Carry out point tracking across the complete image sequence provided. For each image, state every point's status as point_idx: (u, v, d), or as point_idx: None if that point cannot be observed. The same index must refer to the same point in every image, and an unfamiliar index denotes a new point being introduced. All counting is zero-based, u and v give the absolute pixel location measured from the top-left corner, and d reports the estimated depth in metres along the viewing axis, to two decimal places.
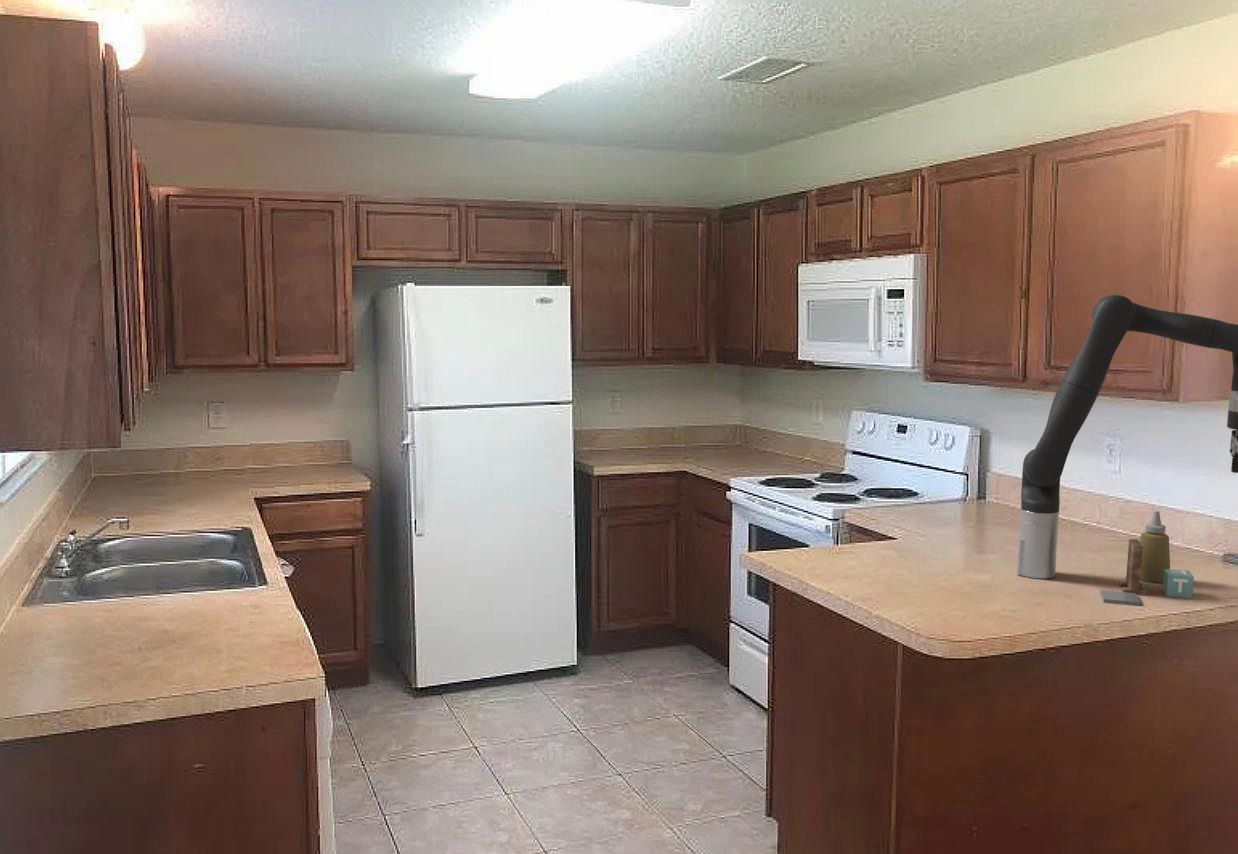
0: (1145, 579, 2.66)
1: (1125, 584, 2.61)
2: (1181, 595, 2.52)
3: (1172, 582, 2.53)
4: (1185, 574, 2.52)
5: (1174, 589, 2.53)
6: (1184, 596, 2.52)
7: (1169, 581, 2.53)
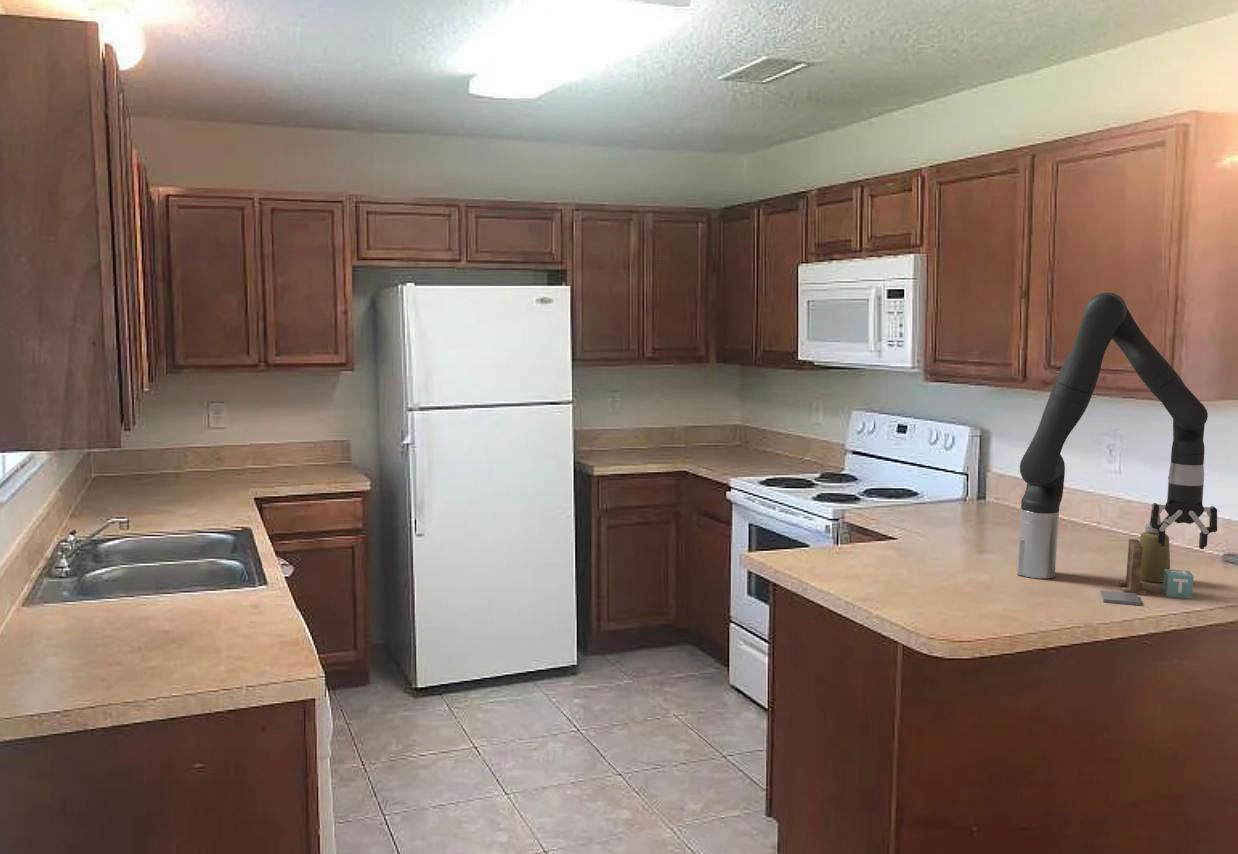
0: (1145, 579, 2.66)
1: (1125, 584, 2.61)
2: (1181, 595, 2.52)
3: (1172, 582, 2.53)
4: (1185, 574, 2.52)
5: (1174, 589, 2.53)
6: (1184, 596, 2.52)
7: (1169, 581, 2.53)
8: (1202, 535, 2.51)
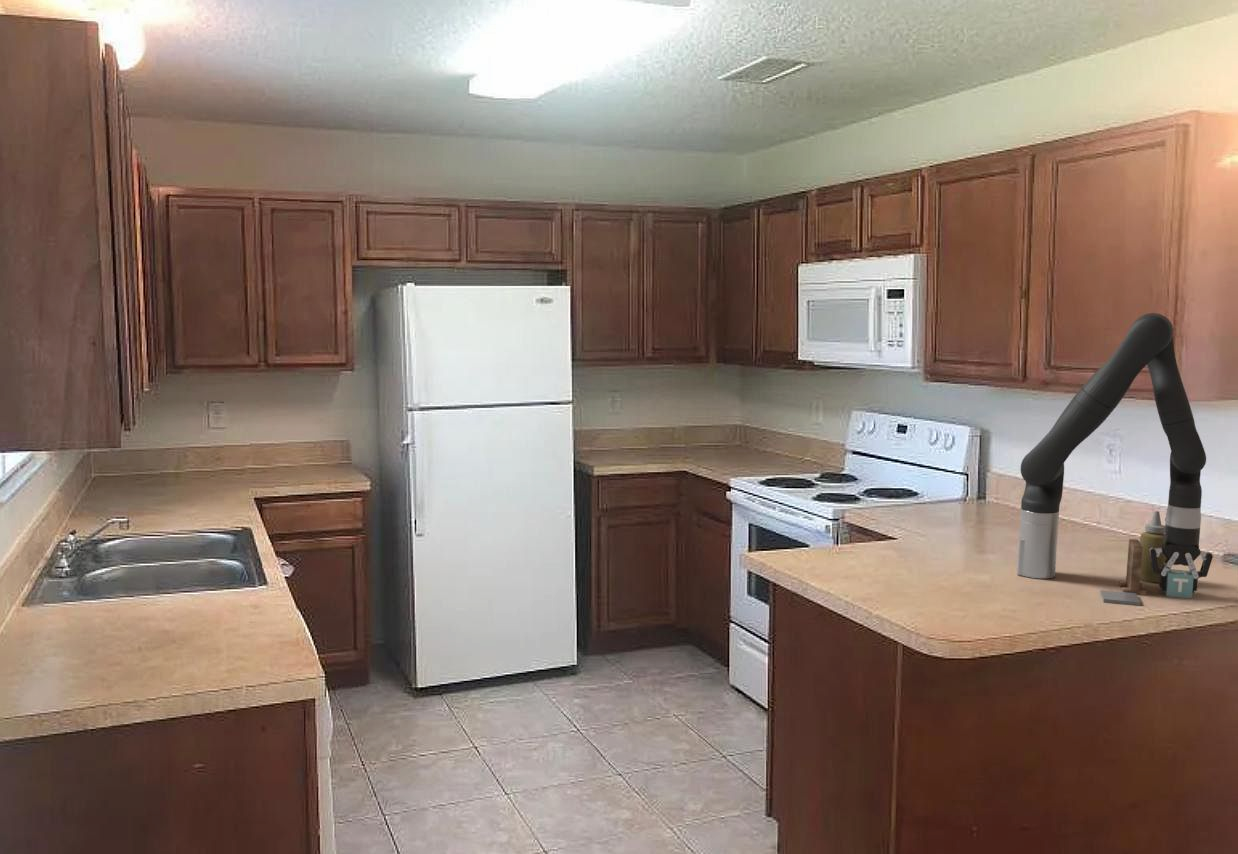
0: (1145, 579, 2.66)
1: (1125, 584, 2.61)
2: (1181, 595, 2.52)
3: (1172, 582, 2.53)
4: (1185, 574, 2.52)
5: (1174, 588, 2.53)
6: (1184, 596, 2.52)
7: (1169, 581, 2.53)
8: None
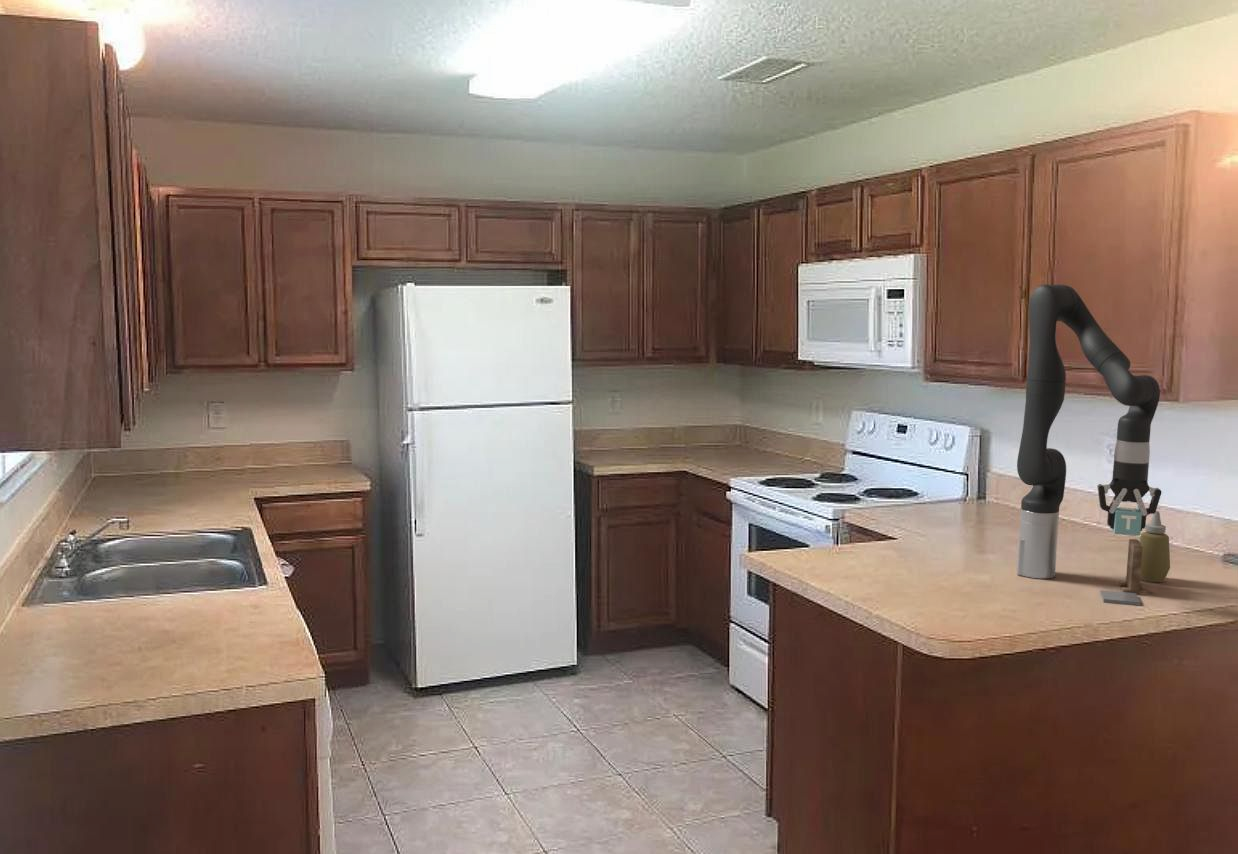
0: (1145, 579, 2.66)
1: (1125, 584, 2.61)
2: (1129, 532, 2.45)
3: (1120, 519, 2.46)
4: (1133, 511, 2.46)
5: (1123, 526, 2.46)
6: (1132, 533, 2.45)
7: (1117, 518, 2.46)
8: None
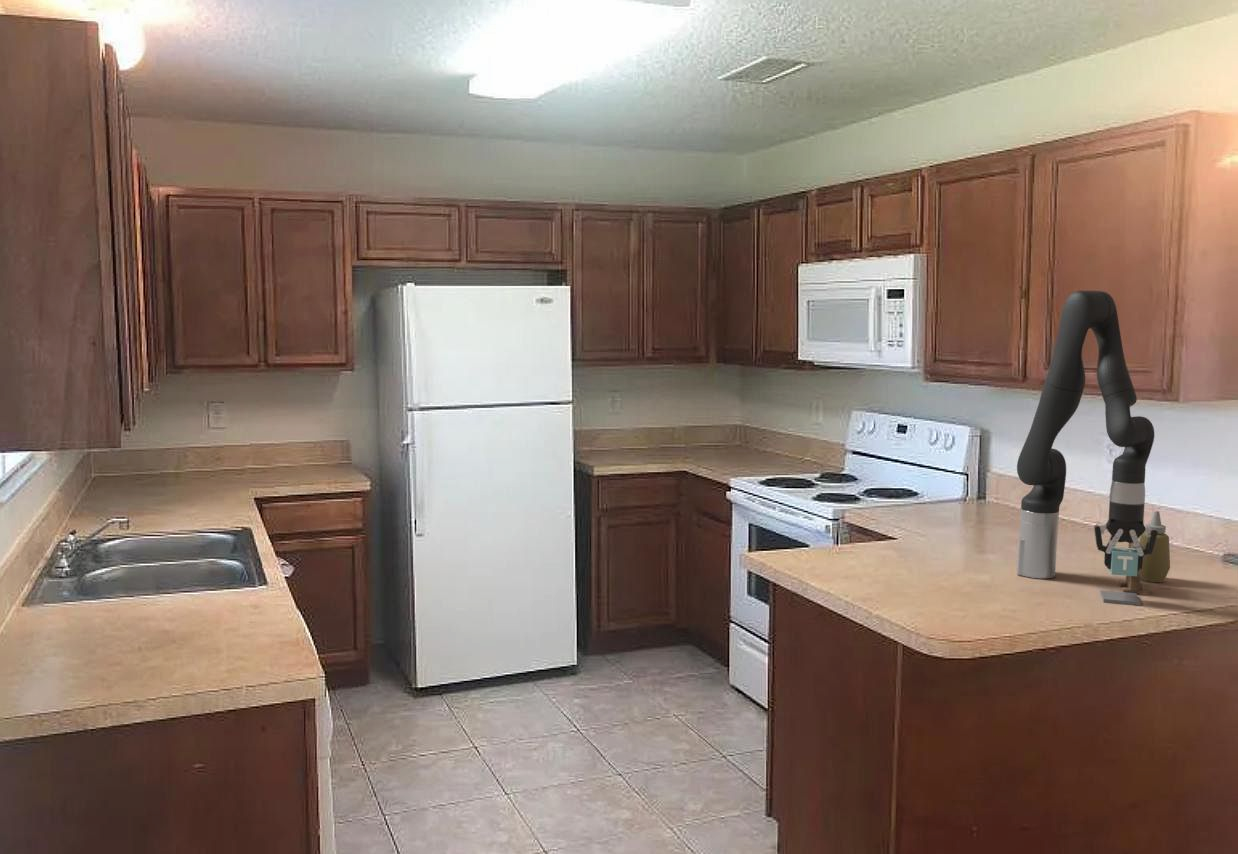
0: (1145, 579, 2.66)
1: (1125, 584, 2.61)
2: (1126, 573, 2.46)
3: (1117, 559, 2.47)
4: (1130, 551, 2.46)
5: (1119, 566, 2.47)
6: (1129, 574, 2.46)
7: (1114, 558, 2.47)
8: None
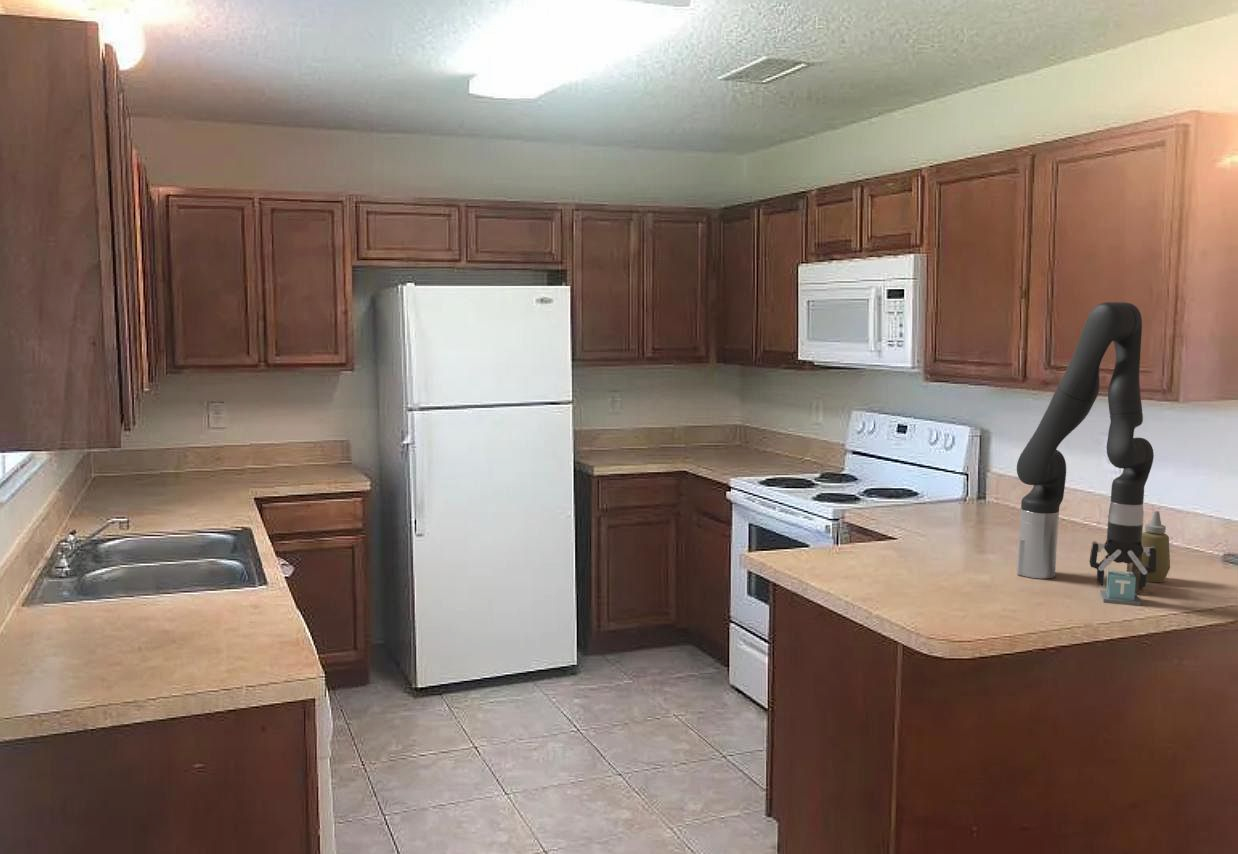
0: None
1: None
2: (1123, 597, 2.47)
3: (1114, 583, 2.48)
4: (1127, 575, 2.47)
5: (1117, 590, 2.48)
6: (1126, 598, 2.47)
7: (1111, 582, 2.48)
8: (1141, 575, 2.47)
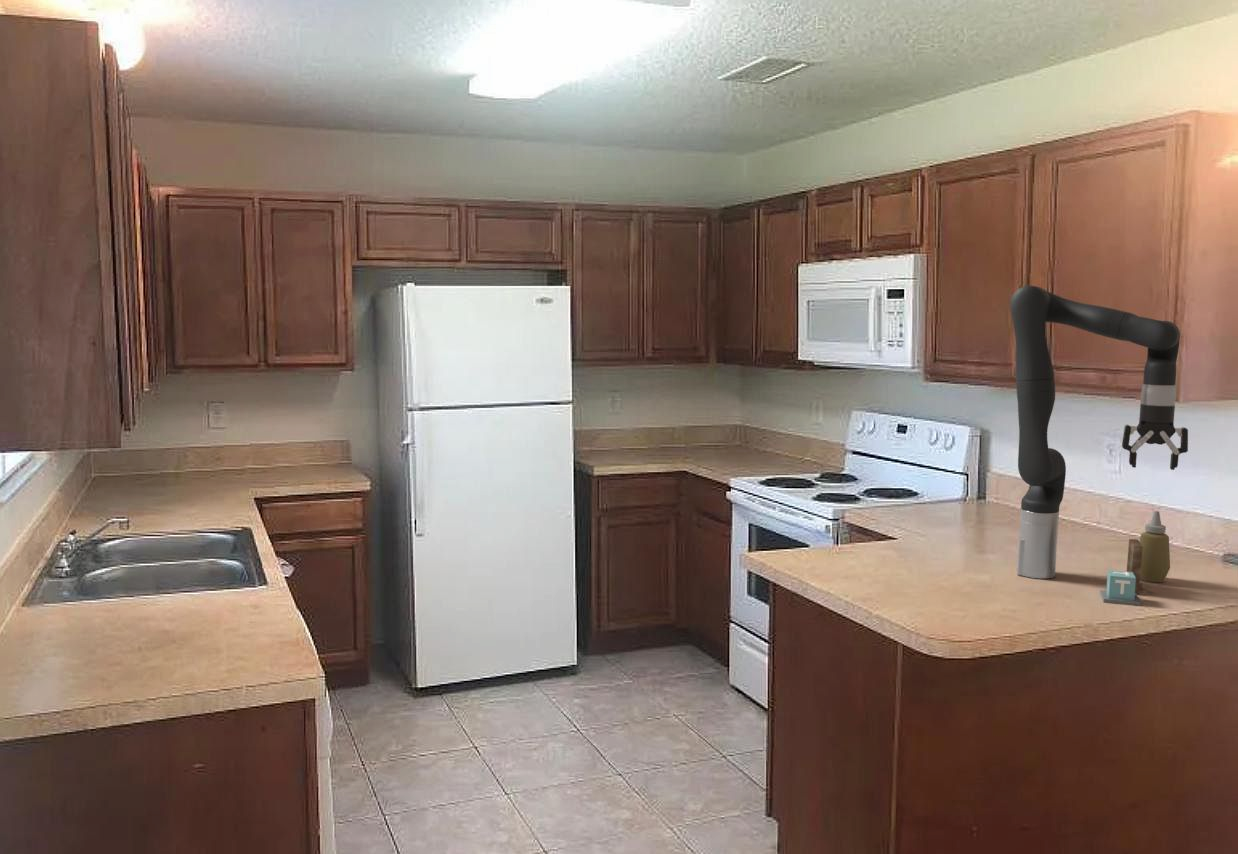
0: (1145, 579, 2.66)
1: None
2: (1123, 597, 2.47)
3: (1114, 583, 2.48)
4: (1127, 575, 2.47)
5: (1117, 590, 2.48)
6: (1126, 598, 2.47)
7: (1111, 582, 2.48)
8: (1173, 456, 2.53)
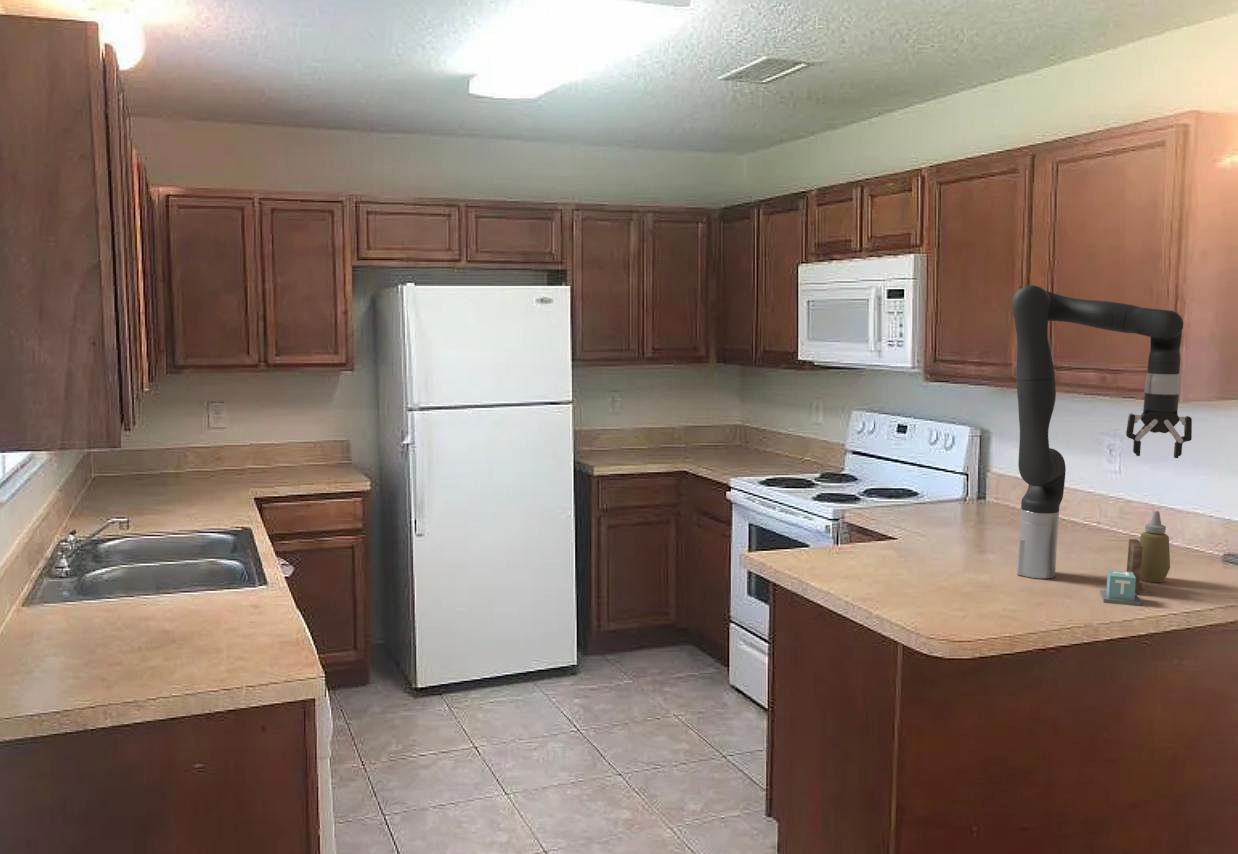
0: (1145, 579, 2.66)
1: None
2: (1123, 597, 2.47)
3: (1114, 583, 2.48)
4: (1127, 575, 2.47)
5: (1117, 590, 2.48)
6: (1126, 598, 2.47)
7: (1111, 582, 2.48)
8: (1177, 444, 2.55)
